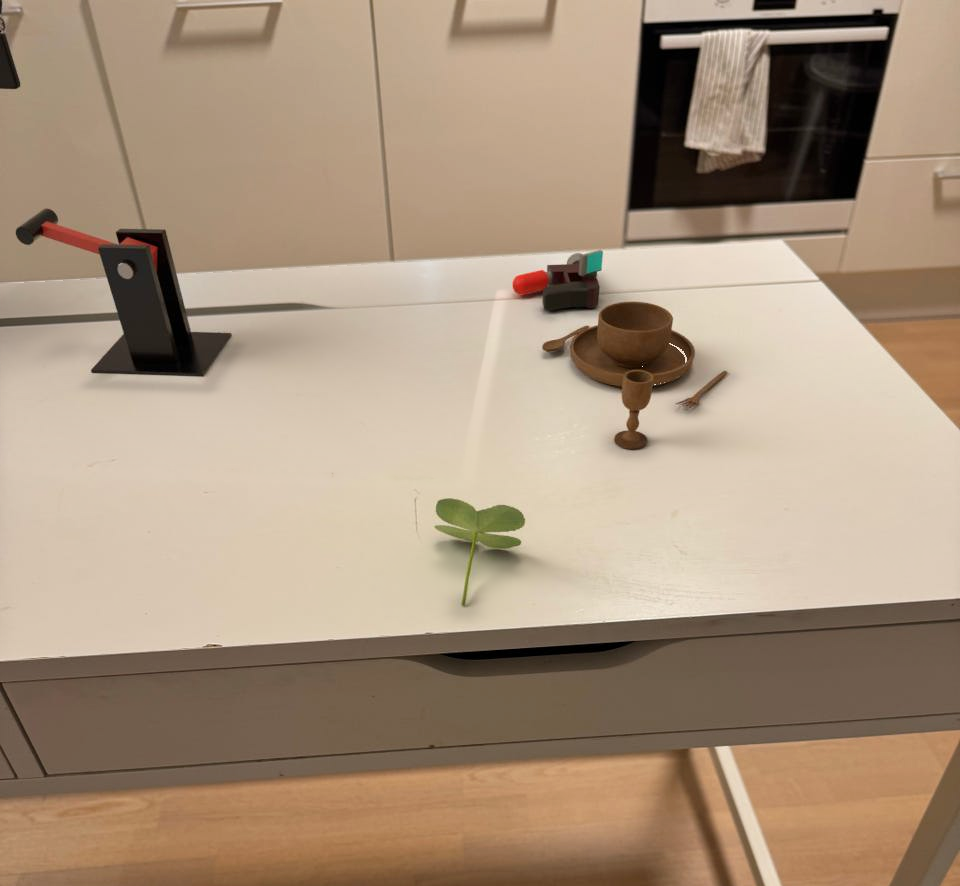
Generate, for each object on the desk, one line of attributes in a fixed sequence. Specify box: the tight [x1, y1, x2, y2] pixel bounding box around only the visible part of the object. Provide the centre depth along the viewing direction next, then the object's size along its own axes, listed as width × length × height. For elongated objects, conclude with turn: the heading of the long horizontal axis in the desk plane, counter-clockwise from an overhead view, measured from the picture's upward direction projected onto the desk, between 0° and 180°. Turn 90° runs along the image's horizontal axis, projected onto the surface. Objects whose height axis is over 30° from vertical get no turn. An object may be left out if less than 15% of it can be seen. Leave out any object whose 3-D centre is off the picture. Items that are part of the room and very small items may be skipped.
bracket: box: [90, 228, 232, 378], centre depth 82 cm, size 11×9×12 cm
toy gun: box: [512, 249, 604, 312], centre depth 96 cm, size 10×12×5 cm
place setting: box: [541, 301, 728, 450], centre depth 80 cm, size 18×20×6 cm
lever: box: [15, 207, 158, 272], centre depth 79 cm, size 11×5×2 cm, turn 85°
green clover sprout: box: [434, 497, 526, 607], centre depth 60 cm, size 7×8×7 cm
